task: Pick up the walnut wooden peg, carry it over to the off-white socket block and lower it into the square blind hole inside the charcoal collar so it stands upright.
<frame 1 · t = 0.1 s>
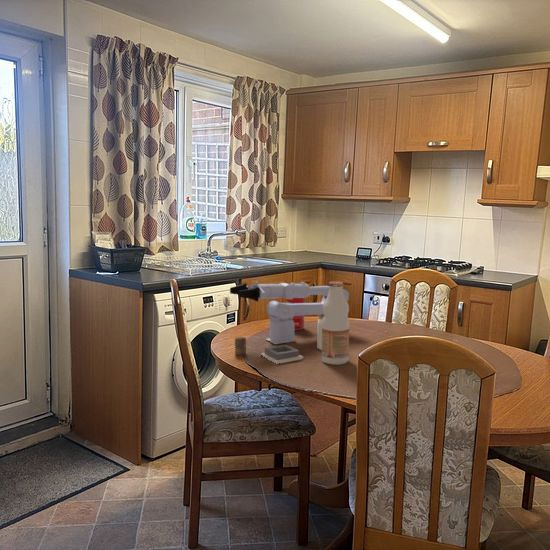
hand: (234, 292, 201), 22 cm above the table, tool horizontal, fingers open, 7 cm apart
peg: (240, 354, 197), on the table
socket block: (281, 357, 193), on the table
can: (325, 349, 204), on the table
fruit juice: (334, 361, 189), on the table
soda can: (295, 329, 233), on the table
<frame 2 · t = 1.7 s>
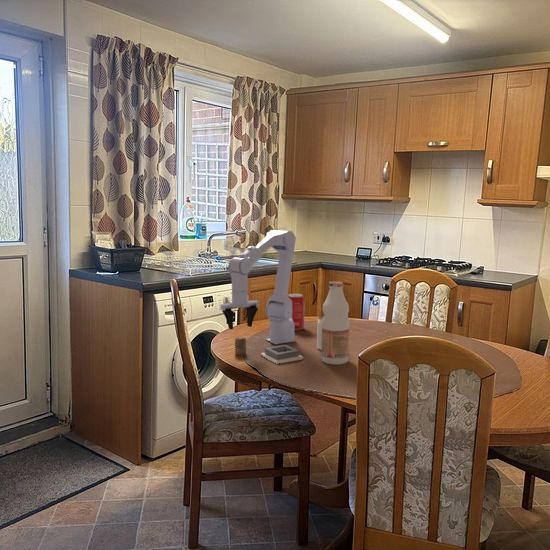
hand: (240, 327, 195), 10 cm above the table, tool pointing down, fingers open, 7 cm apart
nothing on the table moved.
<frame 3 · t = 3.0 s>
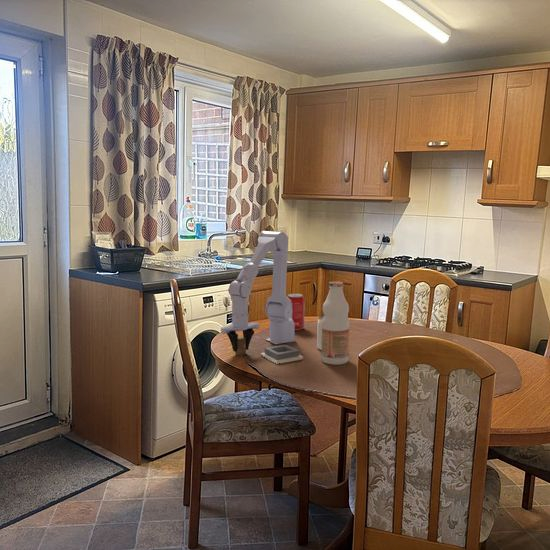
hand: (240, 350, 197), 2 cm above the table, tool pointing down, fingers closed on peg, 4 cm apart
peg: (240, 354, 197), on the table, touching gripper
everything else where it was.
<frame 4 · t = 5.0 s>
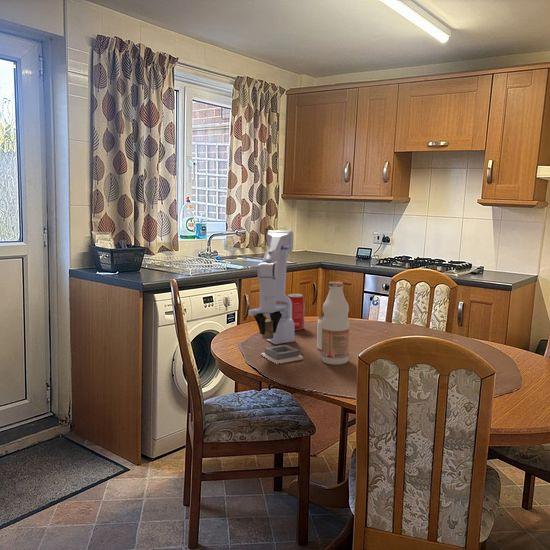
hand: (267, 333, 193), 9 cm above the table, tool pointing down, fingers closed on peg, 4 cm apart
peg: (267, 337, 193), point 7 cm above the table, touching gripper
everything else where it was.
when the fingers open (4 cm above the table, at t = 7.1 s): peg drops 1 cm, resting on socket block.
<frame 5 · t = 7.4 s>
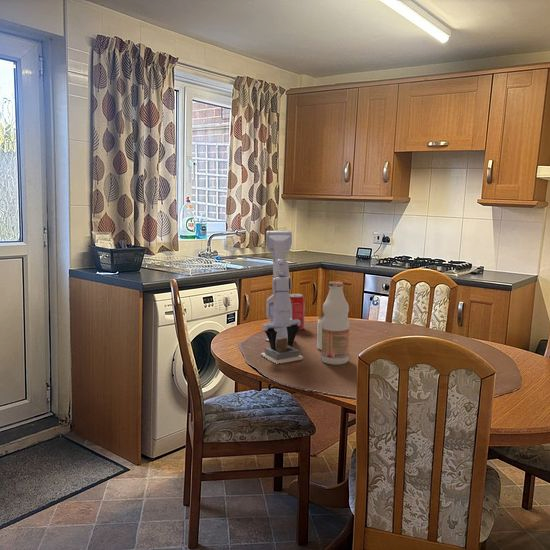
hand: (281, 347, 192), 4 cm above the table, tool pointing down, fingers open, 7 cm apart
peg: (281, 354, 193), point 1 cm above the table, touching socket block
everything else where it was.
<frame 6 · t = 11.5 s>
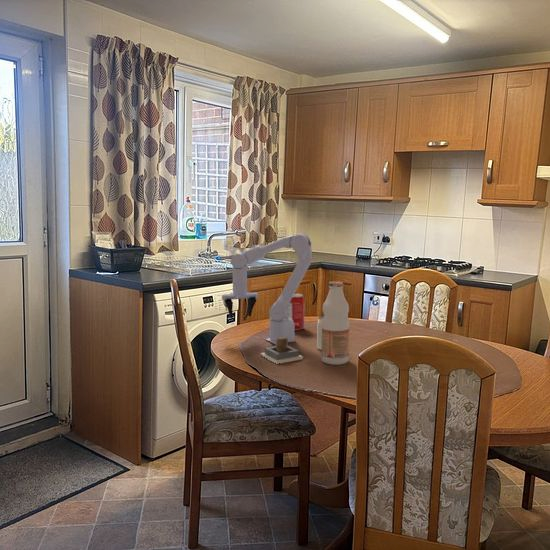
hand: (240, 316, 215), 9 cm above the table, tool pointing down, fingers open, 7 cm apart
nothing on the table moved.
at the end: peg 0.1 cm off-centre on the socket block, point 1.1 cm above the socket block's base; peg tilted 2°; the gripper is holding nothing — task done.
